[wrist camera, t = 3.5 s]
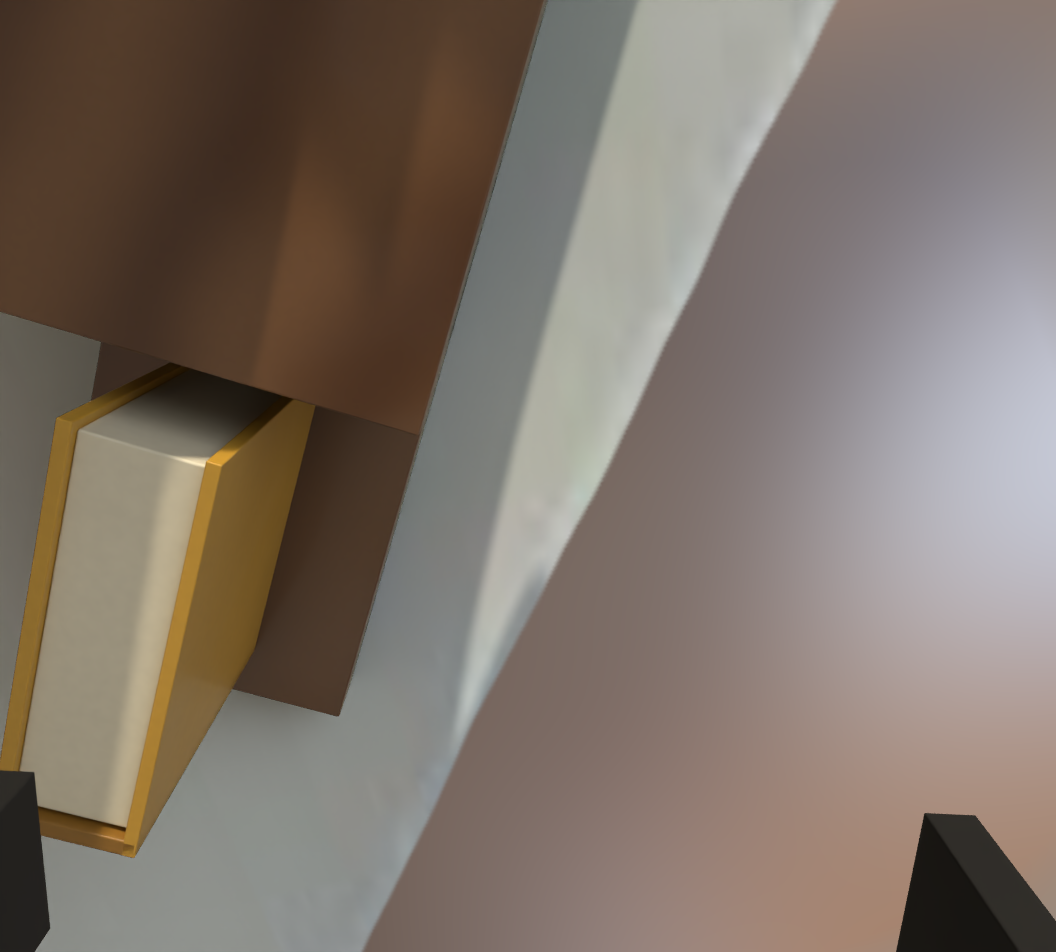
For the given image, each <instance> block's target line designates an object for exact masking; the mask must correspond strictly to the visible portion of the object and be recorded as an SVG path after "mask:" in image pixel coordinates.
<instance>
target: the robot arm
mask: <svg viewBox="0 0 1056 952" xmlns="http://www.w3.org/2000/svg"><path fill="white" fill-rule="evenodd" d="M49 929H50V922H49V912H48V902H47V892H46V882H45V873H44V863H43V853H42V843H41V833H40V823H39V813H38V803H37V793H36V784H35V774H34V772H24V771H3V770H0V952H35V950H36V949H37V947H38V946H39V944H40V943H41V941H42V940H43V938H44V937H45V935H46V934H47V932H48V931H49ZM896 952H1056V921H1055V919H1054V918H1053V917H1052V916H1051V914H1050V913H1049V911H1048V910H1047V909H1046V907H1045V906H1044V905H1043V904H1042V902H1041V901H1040V900H1039V898H1038V897H1037V896H1036V895H1035V893H1034V892H1033V891H1032V889H1031V888H1030V887H1029V885H1028V884H1027V883H1026V881H1025V880H1024V879H1023V877H1022V876H1021V875H1020V873H1019V872H1018V871H1017V870H1016V868H1015V867H1014V866H1013V864H1012V863H1011V862H1010V860H1009V859H1008V858H1007V856H1006V855H1005V854H1004V853H1003V851H1002V850H1001V849H1000V847H999V846H998V845H997V843H996V842H995V841H994V839H993V838H992V837H991V835H990V834H989V833H988V832H987V830H986V829H985V828H984V826H983V825H982V824H981V822H980V821H979V820H978V818H977V817H976V816H973V815H952V814H931V813H925V814H924V819H923V823H922V828H921V833H920V838H919V843H918V848H917V852H916V857H915V862H914V867H913V873H912V877H911V882H910V887H909V891H908V897H907V901H906V906H905V911H904V916H903V921H902V926H901V931H900V936H899V940H898V945H897V950H896Z"/></svg>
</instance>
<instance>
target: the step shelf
mask: <svg viewBox="0 0 1056 952" xmlns="http://www.w3.org/2000/svg"><path fill="white" fill-rule="evenodd" d="M547 2H548V0H0V312H3V313H6V314H10V315H13V316H16V317H20V318H23V319H26V320H30V321H33V322H36V323H40V324H43V325H47V326H50V327H53V328H57V329H60V330H63V331H67V332H70V333H73V334H77V335H80V336H83V337H87V338H90V339H93V340H97V341H100V342H101V347H100V353H99V358H98V364H97V370H96V376H95V381H94V387H93V393H92V398H91V401H92V400H94V399H96V398H98V397H100V396H102V395H104V394H106V393H108V392H110V391H112V390H114V389H117V388H119V387H121V386H123V385H125V384H127V383H129V382H131V381H133V380H135V379H137V378H139V377H141V376H143V375H145V374H147V373H149V372H151V371H153V370H155V369H158V368H160V367H162V366H164V365H166V364H168V363H170V362H171V363H174V364H177V365H181V366H184V367H187V368H191V369H194V370H198V371H201V372H204V373H208V374H211V375H214V376H218V377H221V378H224V379H228V380H231V381H234V382H238V383H241V384H244V385H248V386H251V387H255V388H258V389H261V390H265V391H268V392H271V393H275V394H278V395H281V396H285V397H288V398H291V399H295V400H298V401H302V402H305V403H308V404H312V405H315V410H314V414H313V418H312V422H311V426H310V430H309V434H308V438H307V442H306V446H305V450H304V454H303V458H302V462H301V466H300V470H299V474H298V478H297V482H296V486H295V490H294V494H293V498H292V502H291V506H290V510H289V514H288V518H287V522H286V526H285V530H284V534H283V538H282V542H281V546H280V550H279V554H278V558H277V562H276V566H275V570H274V574H273V578H272V582H271V586H270V590H269V594H268V598H267V602H266V606H265V610H264V614H263V618H262V622H261V626H260V630H259V634H258V638H257V642H256V646H255V650H254V652H253V654H252V655H251V657H250V659H249V660H248V662H247V664H246V666H245V667H244V669H243V671H242V673H241V674H240V676H239V678H238V679H237V681H236V683H235V685H234V686H233V688H232V689H235V690H239V691H243V692H246V693H250V694H254V695H258V696H262V697H265V698H269V699H273V700H277V701H281V702H284V703H288V704H292V705H296V706H299V707H303V708H307V709H311V710H315V711H318V712H322V713H326V714H330V715H333V716H339V715H340V712H341V709H342V706H343V703H344V701H345V698H346V695H347V692H348V689H349V686H350V683H351V680H352V677H353V673H354V670H355V666H356V663H357V660H358V656H359V653H360V649H361V646H362V642H363V639H364V635H365V632H366V628H367V625H368V621H369V618H370V615H371V611H372V608H373V604H374V601H375V597H376V594H377V590H378V587H379V583H380V580H381V576H382V573H383V569H384V566H385V563H386V559H387V556H388V552H389V549H390V545H391V542H392V538H393V535H394V531H395V528H396V524H397V521H398V518H399V514H400V511H401V507H402V504H403V500H404V497H405V493H406V490H407V486H408V483H409V479H410V476H411V473H412V469H413V466H414V462H415V459H416V455H417V452H418V448H419V445H420V441H421V438H422V434H423V431H424V427H425V424H426V421H427V417H428V414H429V410H430V407H431V403H432V400H433V396H434V393H435V389H436V386H437V382H438V379H439V376H440V372H441V369H442V365H443V362H444V358H445V355H446V351H447V348H448V344H449V340H450V337H451V334H452V331H453V327H454V324H455V320H456V317H457V313H458V310H459V306H460V303H461V299H462V296H463V292H464V289H465V286H466V282H467V279H468V275H469V272H470V268H471V265H472V261H473V258H474V254H475V251H476V247H477V244H478V241H479V237H480V234H481V230H482V227H483V223H484V220H485V216H486V213H487V209H488V206H489V202H490V199H491V195H492V192H493V189H494V185H495V182H496V178H497V175H498V171H499V168H500V164H501V161H502V157H503V154H504V150H505V147H506V144H507V140H508V137H509V133H510V130H511V126H512V123H513V119H514V116H515V112H516V109H517V105H518V102H519V99H520V95H521V92H522V88H523V85H524V81H525V78H526V74H527V71H528V67H529V64H530V60H531V57H532V54H533V50H534V47H535V43H536V40H537V36H538V33H539V29H540V26H541V22H542V19H543V15H544V12H545V8H546V5H547Z"/></svg>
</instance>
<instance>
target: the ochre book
mask: <svg viewBox="0 0 1056 952" xmlns="http://www.w3.org/2000/svg"><path fill="white" fill-rule="evenodd" d="M314 410H315V405H312V404H308V403H305V402H302V401H298V400H295V399H291V398H288V397H285V396H281V395H278V394H275V393H271V392H268V391H265V390H261V389H258V388H255V387H251V386H248V385H244V384H241V383H238V382H234V381H231V380H228V379H224V378H221V377H218V376H214V375H211V374H208V373H204V372H201V371H198V370H194V369H191V368H187V367H184V366H181V365H177V364H174V363H171V362H170V363H168V364H166V365H164V366H162V367H160V368H158V369H155V370H153V371H151V372H149V373H147V374H145V375H143V376H141V377H139V378H137V379H135V380H133V381H131V382H129V383H127V384H125V385H123V386H121V387H119V388H117V389H114V390H112V391H110V392H108V393H106V394H104V395H102V396H100V397H98V398H96V399H94V400H92V401H90V402H88V403H86V404H84V405H82V406H80V407H78V408H76V409H74V410H71V411H69V412H67V413H65V414H63V415H61V416H59V417H57V418H56V422H55V428H54V435H53V441H52V447H51V453H50V459H49V465H48V471H47V477H46V483H45V489H44V496H43V502H42V508H41V514H40V520H39V526H38V532H37V538H36V544H35V550H34V556H33V563H32V569H31V575H30V581H29V587H28V593H27V599H26V605H25V611H24V617H23V623H22V630H21V636H20V642H19V648H18V654H17V660H16V666H15V672H14V678H13V684H12V690H11V697H10V703H9V709H8V715H7V721H6V727H5V733H4V739H3V745H2V751H1V757H0V770H3V771H24V772H34V774H35V784H36V793H37V803H38V813H39V823H40V833H41V836H46V837H50V838H54V839H58V840H62V841H66V842H70V843H74V844H78V845H83V846H87V847H91V848H95V849H99V850H103V851H107V852H111V853H115V854H120V855H123V856H127V857H131V858H134V857H135V856H136V854H137V852H138V851H139V849H140V847H141V845H142V844H143V842H144V840H145V838H146V837H147V835H148V833H149V832H150V830H151V828H152V826H153V825H154V823H155V821H156V819H157V818H158V816H159V814H160V813H161V811H162V809H163V807H164V806H165V804H166V802H167V800H168V799H169V797H170V795H171V794H172V792H173V790H174V788H175V787H176V785H177V783H178V781H179V780H180V778H181V776H182V775H183V773H184V771H185V769H186V768H187V766H188V764H189V762H190V761H191V759H192V757H193V756H194V754H195V752H196V750H197V749H198V747H199V745H200V743H201V742H202V740H203V738H204V737H205V735H206V733H207V731H208V730H209V728H210V726H211V724H212V723H213V721H214V719H215V718H216V716H217V714H218V712H219V711H220V709H221V707H222V705H223V704H224V702H225V700H226V698H227V697H228V695H229V693H230V692H231V690H232V688H233V686H234V685H235V683H236V681H237V679H238V678H239V676H240V674H241V673H242V671H243V669H244V667H245V666H246V664H247V662H248V660H249V659H250V657H251V655H252V654H253V652H254V650H255V646H256V642H257V638H258V634H259V630H260V626H261V622H262V618H263V614H264V610H265V606H266V602H267V598H268V594H269V590H270V586H271V582H272V578H273V574H274V570H275V566H276V562H277V558H278V554H279V550H280V546H281V542H282V538H283V534H284V530H285V526H286V522H287V518H288V514H289V510H290V506H291V502H292V498H293V494H294V490H295V486H296V482H297V478H298V474H299V470H300V466H301V462H302V458H303V454H304V450H305V446H306V442H307V438H308V434H309V430H310V426H311V422H312V418H313V414H314Z"/></svg>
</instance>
